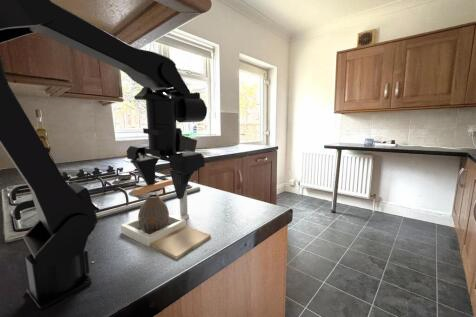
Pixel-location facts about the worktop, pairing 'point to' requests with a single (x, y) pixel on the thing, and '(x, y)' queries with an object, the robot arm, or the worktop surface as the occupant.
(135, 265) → the worktop surface
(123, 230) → the socket
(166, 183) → the orange flat bar
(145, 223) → the vase
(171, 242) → the mat
